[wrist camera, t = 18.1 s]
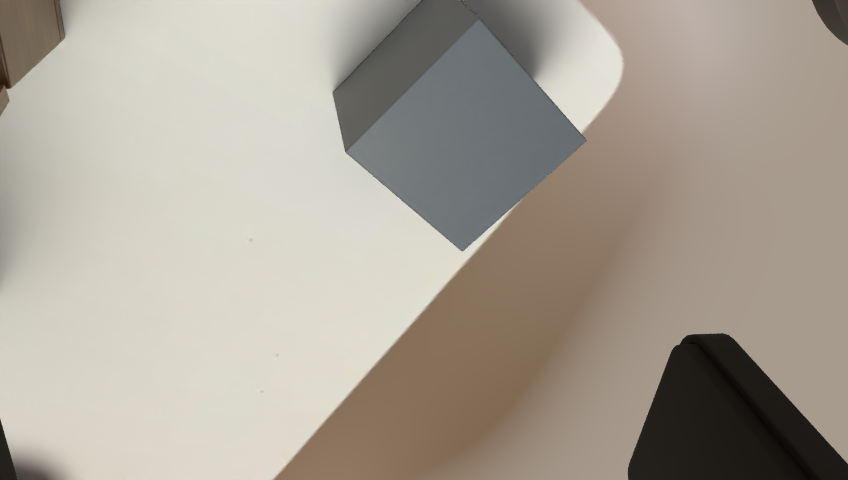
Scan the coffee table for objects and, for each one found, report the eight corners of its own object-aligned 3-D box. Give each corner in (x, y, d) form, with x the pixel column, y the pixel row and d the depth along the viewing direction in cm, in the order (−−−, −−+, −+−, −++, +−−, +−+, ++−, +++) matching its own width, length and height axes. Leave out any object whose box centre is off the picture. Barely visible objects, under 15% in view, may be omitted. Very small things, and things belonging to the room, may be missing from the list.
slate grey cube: (439, -18, 34) (479, 17, 27) (532, 87, 38) (587, 140, 31) (332, 93, 36) (344, 152, 29) (431, 182, 40) (462, 252, 33)
